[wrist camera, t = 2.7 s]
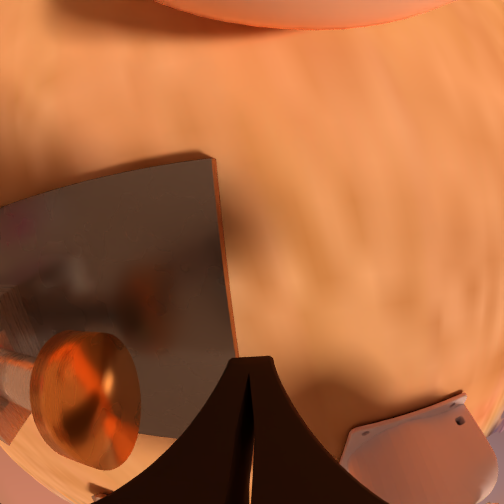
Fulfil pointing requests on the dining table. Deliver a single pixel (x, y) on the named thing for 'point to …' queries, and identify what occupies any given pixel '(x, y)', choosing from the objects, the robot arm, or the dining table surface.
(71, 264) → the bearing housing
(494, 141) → the dining table surface
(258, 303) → the dining table surface
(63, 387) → the shaft
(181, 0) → the lidded bowl
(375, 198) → the dining table surface
